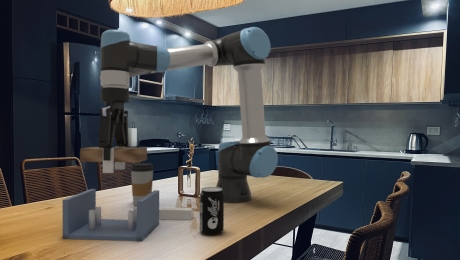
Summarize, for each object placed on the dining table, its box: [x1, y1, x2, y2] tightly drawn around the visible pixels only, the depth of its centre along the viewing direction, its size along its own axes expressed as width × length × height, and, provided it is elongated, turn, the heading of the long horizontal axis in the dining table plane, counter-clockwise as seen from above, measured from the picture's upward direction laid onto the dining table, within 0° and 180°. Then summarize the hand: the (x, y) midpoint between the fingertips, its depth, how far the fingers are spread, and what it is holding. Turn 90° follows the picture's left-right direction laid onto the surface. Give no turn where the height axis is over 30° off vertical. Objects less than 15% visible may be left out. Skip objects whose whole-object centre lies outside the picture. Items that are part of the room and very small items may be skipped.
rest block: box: [159, 207, 193, 221], centre depth 106 cm, size 10×3×3 cm, turn 86°
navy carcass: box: [61, 188, 160, 242], centre depth 93 cm, size 21×15×10 cm
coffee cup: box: [130, 162, 154, 207], centre depth 125 cm, size 8×8×15 cm
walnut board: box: [79, 146, 148, 163], centre depth 92 cm, size 16×7×4 cm, turn 86°
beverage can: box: [199, 186, 225, 236], centre depth 92 cm, size 7×7×12 cm
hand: (114, 170), depth 92 cm, fingers closed on walnut board, 7 cm apart
